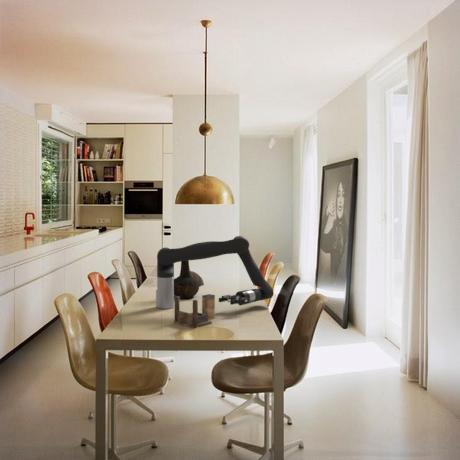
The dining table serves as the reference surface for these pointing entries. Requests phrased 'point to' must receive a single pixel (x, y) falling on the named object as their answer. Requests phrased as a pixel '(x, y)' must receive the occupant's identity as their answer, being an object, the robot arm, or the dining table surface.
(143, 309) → the dining table surface
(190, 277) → the glass bottle
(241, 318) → the dining table surface
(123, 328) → the dining table surface
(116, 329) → the dining table surface
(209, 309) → the brown wooden block
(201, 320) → the board
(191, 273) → the decorative dome
